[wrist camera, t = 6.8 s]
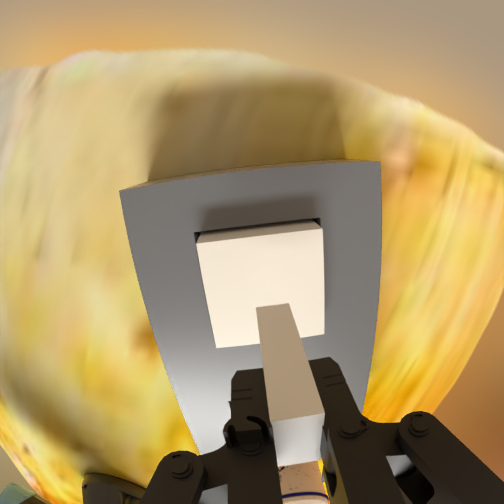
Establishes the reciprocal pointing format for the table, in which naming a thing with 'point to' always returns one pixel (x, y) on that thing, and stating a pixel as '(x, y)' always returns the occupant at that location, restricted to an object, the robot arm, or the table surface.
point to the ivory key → (262, 277)
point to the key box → (243, 214)
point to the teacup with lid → (302, 484)
